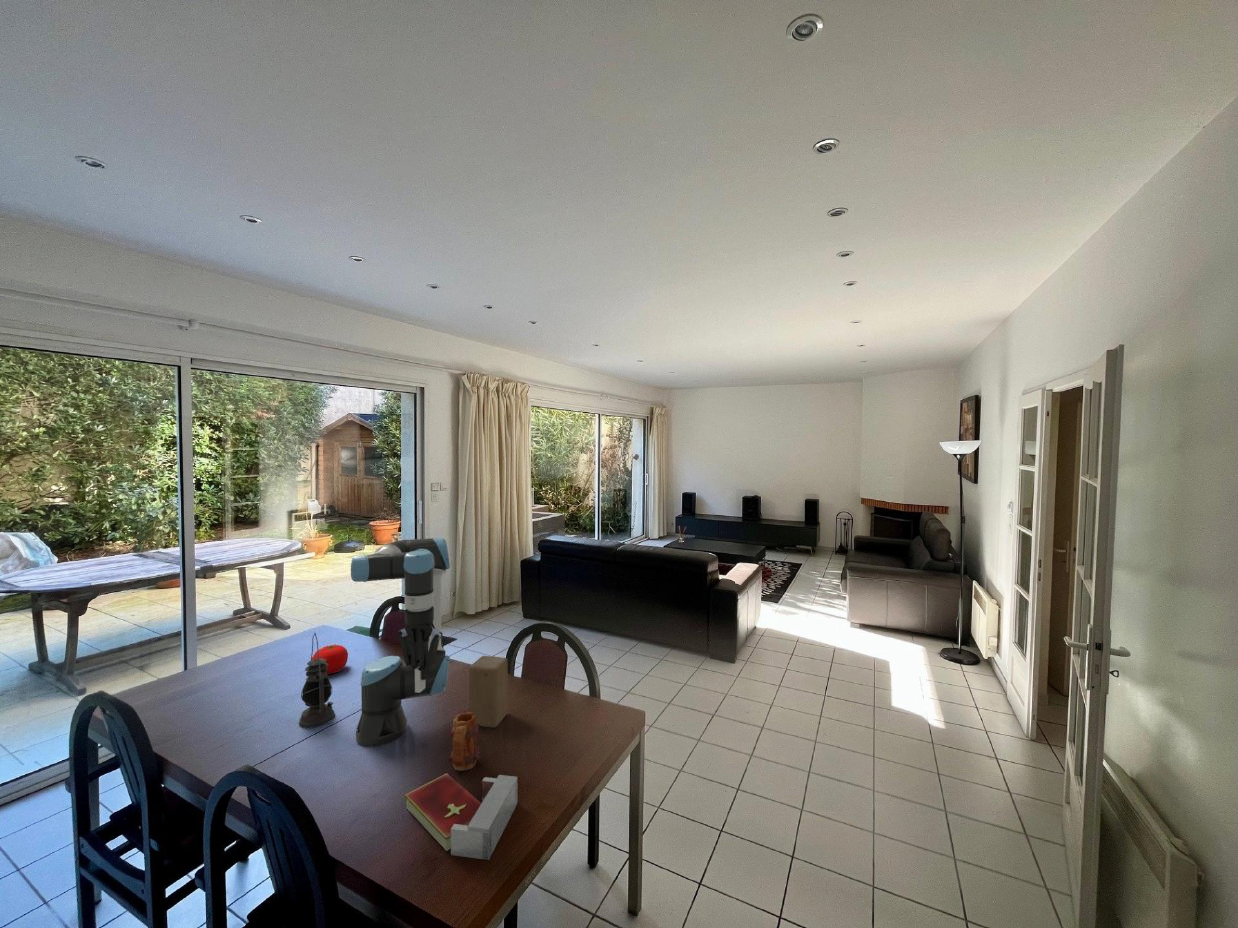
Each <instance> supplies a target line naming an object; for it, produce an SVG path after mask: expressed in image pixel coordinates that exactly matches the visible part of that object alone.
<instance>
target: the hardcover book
mask: <svg viewBox="0 0 1238 928" xmlns="http://www.w3.org/2000/svg"><path fill="white" fill-rule="evenodd" d="M404 798H405V799H406V809H407V810H408V811H409V812H410V813H411V814H412V815H413V816H414V818H415V819H416V820H417V821H418V822H419V824H421V825H422V826H423V827H424V828H425V829H426V830H427V832H428V833H429V834H430V835H431V836H432V837H433V838H434V839H435V841H437V842H438V844H439V845H440V846H441V847H442V848H443V849H444V850H445V851H446V852H448V851H449V850H451V828H452V826H453V825H454V824H459V825H467V826H468V825H469V823H470V822H471V820H472V818H473V817H474V815H475V813H476V812H477V810H478V809H479V807H480V805H481V804H482V802H481V801H480V800H478V798H476V797H474V795H472V794H471V793H470V792H469V791H468V790H467V789H466V788H464V787H463V786H462V785H461V784H460V783H459V782H458V781H456V780H455V779H454V778H453V777H452V776H450V774H448V773H447V772H446V773H444V774H443V775H441V776H438V777H436V778H435V779H433V780H431V781H429V782H427V783H425V784H422V785H421V786H419V787H418V788H415V789H413V790H412V791H410V792H408V793H405V794H404Z"/></svg>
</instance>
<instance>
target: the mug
mask: <svg viewBox="0 0 1238 928" xmlns="http://www.w3.org/2000/svg"><path fill="white" fill-rule="evenodd" d="M452 723H453V724H452V725H453V726H452V727H451V731H450V732H449V736H451V737H452V746H453V747H452V751H451V752H450V755H449V758H448V761H449V762H451V763H452V766H453V769H454V770H456V771H467V770H468V771H469V770H471V769H472V768H475V766H476V764H477V760H478V758H479V755H480V754H479V753H480V752H481V750H482V748H481V747H479V746H477V738H478V737H477V735H478V732H479V728H480V727H481V726H480V724H479V723H477V722H476V716H475V715H474V713H472V712H469V711H466V712H465V711H462V712H460V713H459V714H458V713H457V715H456V716H455V717H454V719H453V722H452Z"/></svg>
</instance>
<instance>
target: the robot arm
mask: <svg viewBox="0 0 1238 928" xmlns="http://www.w3.org/2000/svg"><path fill="white" fill-rule="evenodd" d="M449 558H450V557H449V550H448V543H447V541H446V539H444V538H442V537H441V538H440V537H432V538H431V537H430V538H412V539H400V540H396V541H393V542H388V543H385V544H383V545H381V546H379V547H378V548H376V550H375V551H374V553H371V554H362V555H361V554H360V555H354V556H353V557H352V559H351V563H350V578H351V580H352V581H353V582H355V583H358V582H362V583H367V582H374V581H375V582H376V581H377V582H378V581H385V580H387V581H388V580H402V579H403V580H404V608H405V610H404V623H405V625H404V628H401V629H400V630H399V631H397V632H396V636H397V637H398V639H399V641H400V646H401V650H402V654H403V658H404V659H403V660H402V659H401V657H400V656H398V655H388V656H383V657H380V658H378V659H375V660H373V661H371V662H369V663H368V664H367V665H365V667H364V668H363V669H362V672H361V678H360V679H361V680H360V686H361V690H360V691H361V714H360V717H359V720H358V723H357V726H356V730H355V741H356V743H358V744H359V745H360V746H365V747H376V746H382V745H386V744H389V743H390V744H391V743H392V742H395V741H396V740H398V739H399V738H401V737H402V736H403V735H405V733H406V732H407V730H408V718H407V716H406V714H405V711H404V707H403V706H402V700H407V699H415V698H416V699H417V698H422V697H423V698H424V697H428V696H430V697H432V696H435V695H440V694H443V693H444V692H445V691H446V689H447V686H448V678H449V670H450V662H451V661H450V659H451V657H450V655H446V651H447V650H446V649H444V648H443V647H442V637H443V635H444V633H443V632H442V578H444V576H445V575H446V573H447V571H446V570H449V569H450V559H449Z"/></svg>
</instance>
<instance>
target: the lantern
mask: <svg viewBox="0 0 1238 928" xmlns="http://www.w3.org/2000/svg"><path fill="white" fill-rule="evenodd" d="M314 637H315V640H316V648H317V649H316V651H318V650H319V641H318V638H317V633H316V632H314V634H313V635H312V639H311V640H312V641H311V643H312V645H311V653H310V660H309V661H307V663H306V665H307V666H306V667H305V668H304V671H305V676H306V679H305V683H304V685H303V687H302V690H301V693H300V698H301V700H302V701H303V703H304V705H305V706H306V707H307V708H305V709H304V710H303V711H302V713H301V715H300V718H299V721H298V726H299V727H301V728H305V729H314V728H317V727H321V726H322V727H323V726H324V725H326V724H329V723H330V722H331V721H333V720H334V718H335V717H336V714H335V711H334V709H333V705H334V702H332V701H329V699H330V698H331V696H332V694H333V691H332V689H333V685H332V683H331V680H330V679H329V677H328V674H325V673H326V672H327V667H328V664H327V663H325V662H326V659H323V658H319V652H318V653H315V652H314ZM313 652H314V653H313ZM314 654H315V659H314V660H312V657H313V655H314ZM316 654H317V656H318V659H316Z"/></svg>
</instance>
